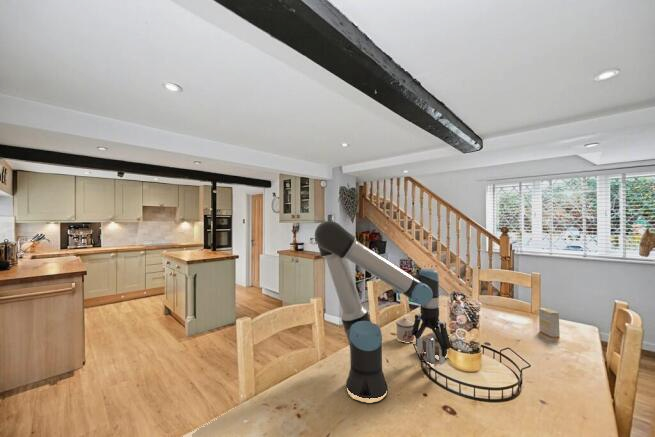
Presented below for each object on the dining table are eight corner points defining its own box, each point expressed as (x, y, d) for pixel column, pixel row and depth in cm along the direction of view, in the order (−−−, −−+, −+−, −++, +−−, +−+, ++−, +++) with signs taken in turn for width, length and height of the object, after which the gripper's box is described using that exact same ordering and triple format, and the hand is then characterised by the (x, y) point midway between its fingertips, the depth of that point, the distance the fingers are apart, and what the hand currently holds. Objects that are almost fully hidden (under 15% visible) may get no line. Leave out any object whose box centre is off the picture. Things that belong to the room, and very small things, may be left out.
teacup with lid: (403, 345, 133) (403, 322, 133) (392, 338, 141) (392, 316, 141) (422, 341, 137) (422, 318, 137) (411, 334, 145) (410, 313, 146)
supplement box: (560, 337, 139) (559, 312, 139) (551, 337, 139) (550, 312, 139) (547, 331, 147) (546, 307, 147) (538, 331, 147) (538, 307, 147)
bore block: (440, 361, 117) (440, 348, 117) (417, 351, 127) (417, 338, 127) (460, 351, 125) (460, 338, 126) (437, 342, 135) (437, 330, 136)
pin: (431, 370, 110) (431, 341, 111) (424, 366, 113) (424, 338, 113) (436, 367, 112) (436, 339, 112) (429, 363, 115) (429, 336, 115)
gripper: (460, 311, 106) (461, 367, 105) (413, 298, 125) (414, 345, 124) (449, 315, 102) (450, 373, 101) (402, 301, 120) (403, 350, 120)
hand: (430, 358), depth 113 cm, fingers open, 10 cm apart
